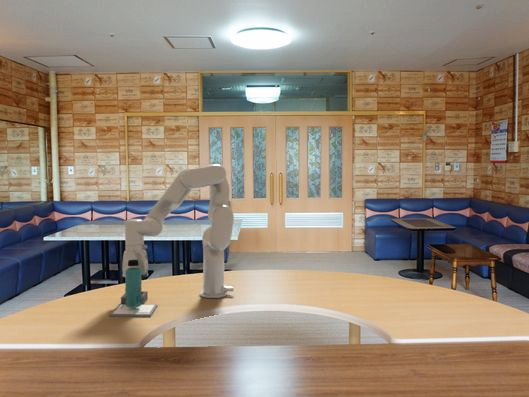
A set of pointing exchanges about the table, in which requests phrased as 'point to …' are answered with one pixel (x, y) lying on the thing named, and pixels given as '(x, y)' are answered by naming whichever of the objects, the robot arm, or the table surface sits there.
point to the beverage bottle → (133, 285)
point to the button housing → (144, 295)
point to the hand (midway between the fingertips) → (135, 289)
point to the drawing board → (133, 311)
